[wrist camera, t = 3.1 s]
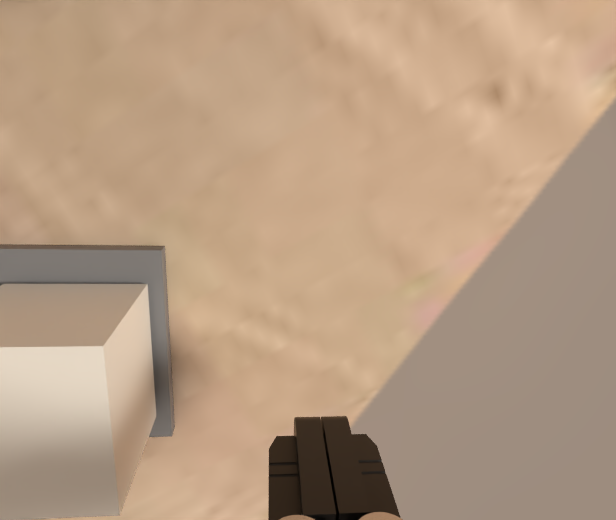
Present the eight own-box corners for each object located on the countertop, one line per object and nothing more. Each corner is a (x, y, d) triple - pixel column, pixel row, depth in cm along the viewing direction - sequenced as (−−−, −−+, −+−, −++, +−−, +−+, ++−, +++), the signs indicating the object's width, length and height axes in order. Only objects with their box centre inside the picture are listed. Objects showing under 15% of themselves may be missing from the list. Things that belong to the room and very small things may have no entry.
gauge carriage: (-25, 444, 19) (-124, 555, 14) (-56, 283, 17) (-184, 348, 12) (158, 439, 19) (122, 544, 15) (147, 283, 17) (103, 346, 13)
